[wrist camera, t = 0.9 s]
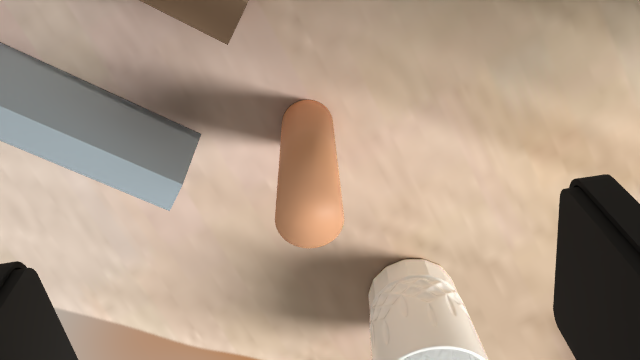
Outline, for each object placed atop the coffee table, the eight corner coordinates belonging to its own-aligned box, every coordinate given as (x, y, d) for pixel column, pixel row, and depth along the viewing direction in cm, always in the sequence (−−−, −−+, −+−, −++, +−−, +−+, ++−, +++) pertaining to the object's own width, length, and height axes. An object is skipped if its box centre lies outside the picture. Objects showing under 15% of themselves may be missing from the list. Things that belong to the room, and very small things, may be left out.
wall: (-11, 37, 36) (-75, 73, 30) (201, 134, 40) (182, 184, 33) (-26, 92, 38) (-90, 137, 32) (178, 180, 41) (157, 236, 35)
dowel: (296, 91, 38) (294, 178, 28) (342, 113, 39) (356, 207, 29) (273, 133, 40) (263, 232, 29) (317, 154, 41) (323, 257, 30)
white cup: (383, 341, 49) (401, 446, 40) (344, 274, 46) (355, 373, 37) (473, 308, 48) (512, 409, 39) (440, 236, 44) (474, 329, 35)
